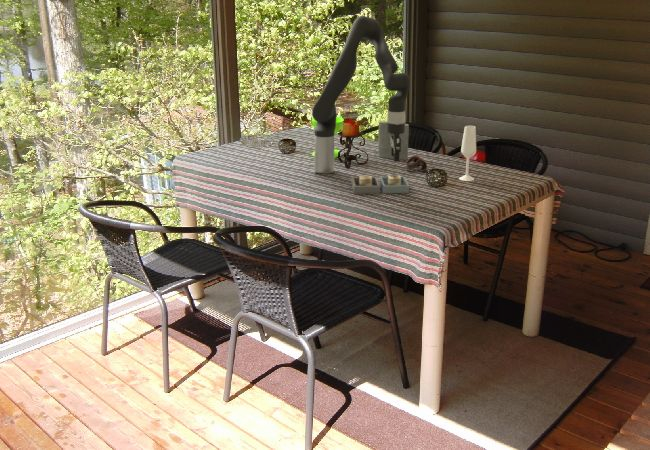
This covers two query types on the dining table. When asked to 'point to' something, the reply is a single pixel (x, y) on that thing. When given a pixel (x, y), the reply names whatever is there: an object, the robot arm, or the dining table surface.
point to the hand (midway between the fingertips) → (395, 158)
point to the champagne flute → (468, 148)
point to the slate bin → (394, 189)
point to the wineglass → (338, 126)
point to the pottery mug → (416, 163)
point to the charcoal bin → (365, 189)
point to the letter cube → (394, 180)
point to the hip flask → (385, 141)
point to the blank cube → (365, 181)
